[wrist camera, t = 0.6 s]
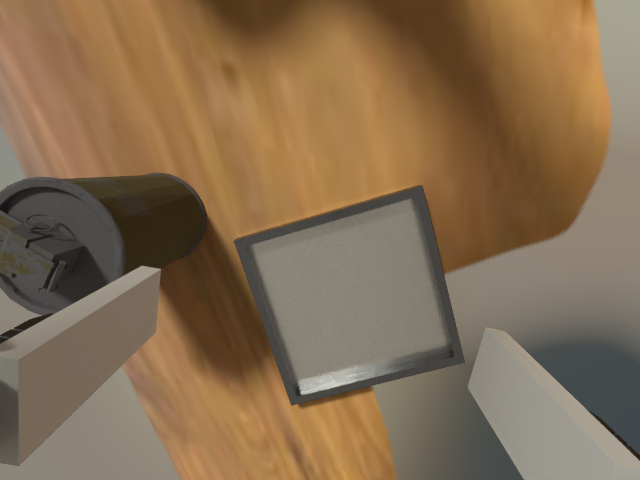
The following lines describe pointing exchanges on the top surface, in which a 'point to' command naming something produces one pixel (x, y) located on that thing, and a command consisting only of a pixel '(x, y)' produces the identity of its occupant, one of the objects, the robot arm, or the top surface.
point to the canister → (90, 234)
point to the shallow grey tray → (353, 296)
